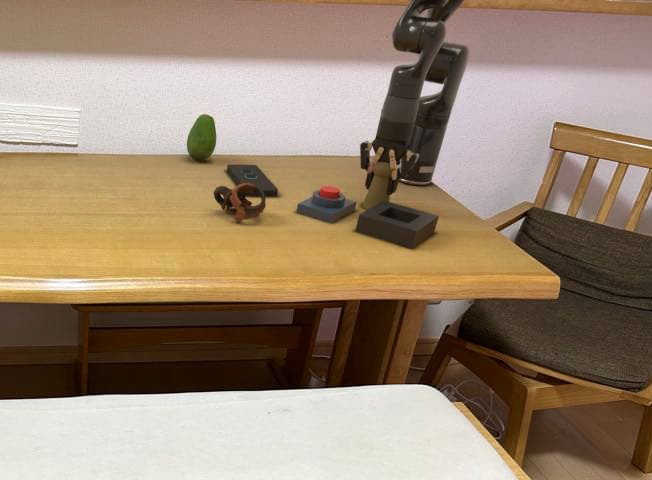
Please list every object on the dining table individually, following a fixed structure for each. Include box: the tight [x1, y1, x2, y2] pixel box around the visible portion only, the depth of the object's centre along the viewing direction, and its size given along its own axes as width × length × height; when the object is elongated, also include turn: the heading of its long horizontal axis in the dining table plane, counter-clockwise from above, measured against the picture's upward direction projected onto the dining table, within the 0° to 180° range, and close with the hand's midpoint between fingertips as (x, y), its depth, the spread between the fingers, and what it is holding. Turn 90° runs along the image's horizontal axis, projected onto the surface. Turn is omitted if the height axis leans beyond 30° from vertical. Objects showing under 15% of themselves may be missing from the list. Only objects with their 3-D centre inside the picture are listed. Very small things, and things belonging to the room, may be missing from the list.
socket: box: [354, 201, 440, 249], centre depth 166 cm, size 13×13×4 cm
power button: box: [319, 185, 341, 199], centre depth 173 cm, size 4×4×2 cm
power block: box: [295, 189, 357, 224], centre depth 174 cm, size 12×9×4 cm
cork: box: [361, 161, 393, 210], centre depth 177 cm, size 6×6×11 cm
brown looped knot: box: [213, 183, 267, 224], centre depth 168 cm, size 12×10×8 cm
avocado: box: [186, 113, 217, 162], centre depth 200 cm, size 8×8×12 cm
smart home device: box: [226, 163, 279, 198], centre depth 189 cm, size 8×2×20 cm
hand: (379, 191), depth 177 cm, fingers closed on cork, 4 cm apart
